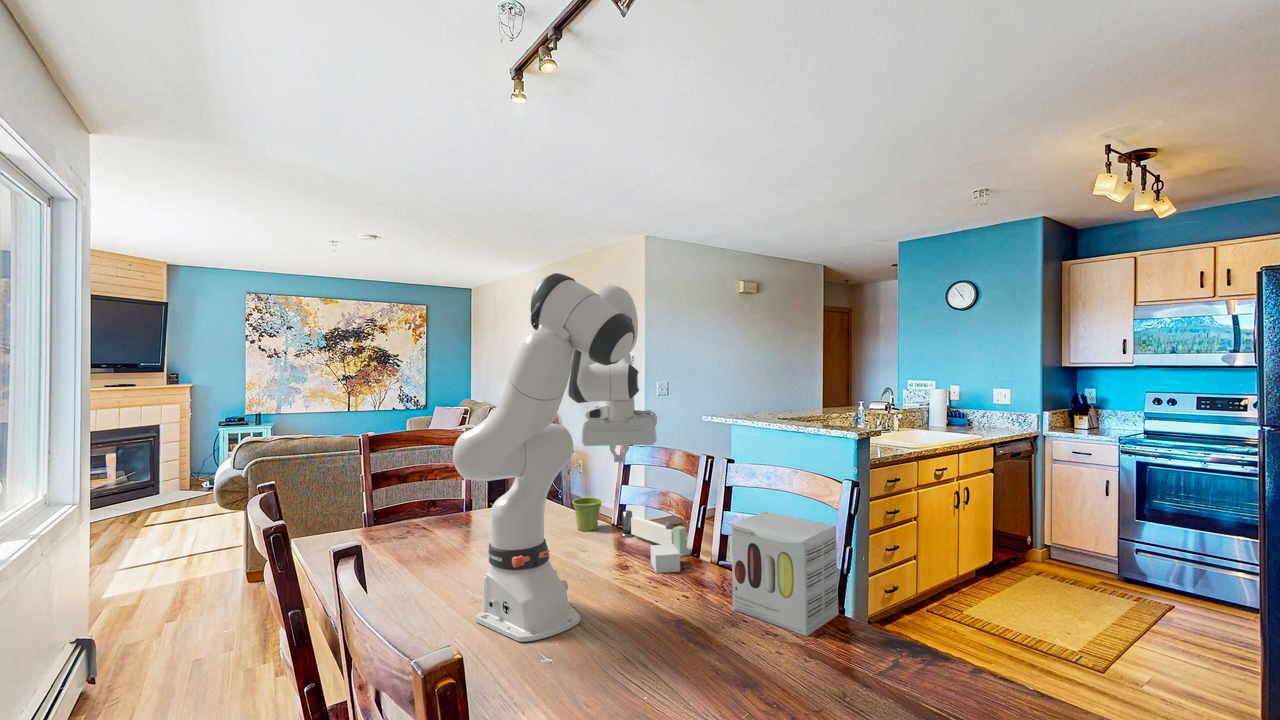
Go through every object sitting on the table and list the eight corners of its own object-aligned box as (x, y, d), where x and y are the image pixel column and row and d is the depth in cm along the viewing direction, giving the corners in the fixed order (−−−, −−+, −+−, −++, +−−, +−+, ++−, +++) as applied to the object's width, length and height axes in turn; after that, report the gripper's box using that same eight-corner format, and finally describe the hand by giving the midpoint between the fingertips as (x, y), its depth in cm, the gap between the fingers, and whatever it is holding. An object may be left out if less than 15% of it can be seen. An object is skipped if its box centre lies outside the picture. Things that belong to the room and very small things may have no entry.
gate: (631, 533, 171) (630, 512, 171) (636, 532, 172) (636, 510, 172) (671, 548, 157) (671, 524, 157) (677, 546, 158) (676, 523, 158)
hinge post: (638, 535, 174) (637, 511, 174) (626, 538, 171) (626, 514, 171) (629, 532, 177) (628, 509, 177) (617, 535, 174) (617, 511, 174)
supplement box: (730, 611, 120) (728, 523, 120) (766, 592, 129) (764, 510, 129) (807, 638, 108) (805, 540, 108) (840, 614, 117) (838, 524, 117)
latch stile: (692, 553, 156) (691, 527, 156) (679, 557, 153) (679, 530, 153) (678, 548, 160) (677, 523, 160) (666, 552, 158) (665, 526, 158)
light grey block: (680, 572, 143) (679, 553, 143) (656, 574, 142) (655, 555, 142) (673, 561, 151) (673, 543, 151) (650, 562, 150) (650, 545, 150)
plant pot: (605, 524, 186) (604, 497, 186) (600, 533, 177) (599, 504, 177) (576, 524, 187) (575, 497, 187) (569, 533, 178) (569, 504, 178)
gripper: (657, 409, 160) (658, 459, 160) (584, 410, 162) (585, 460, 162) (655, 410, 154) (657, 463, 154) (579, 412, 156) (581, 464, 156)
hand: (619, 461), depth 158 cm, fingers closed
